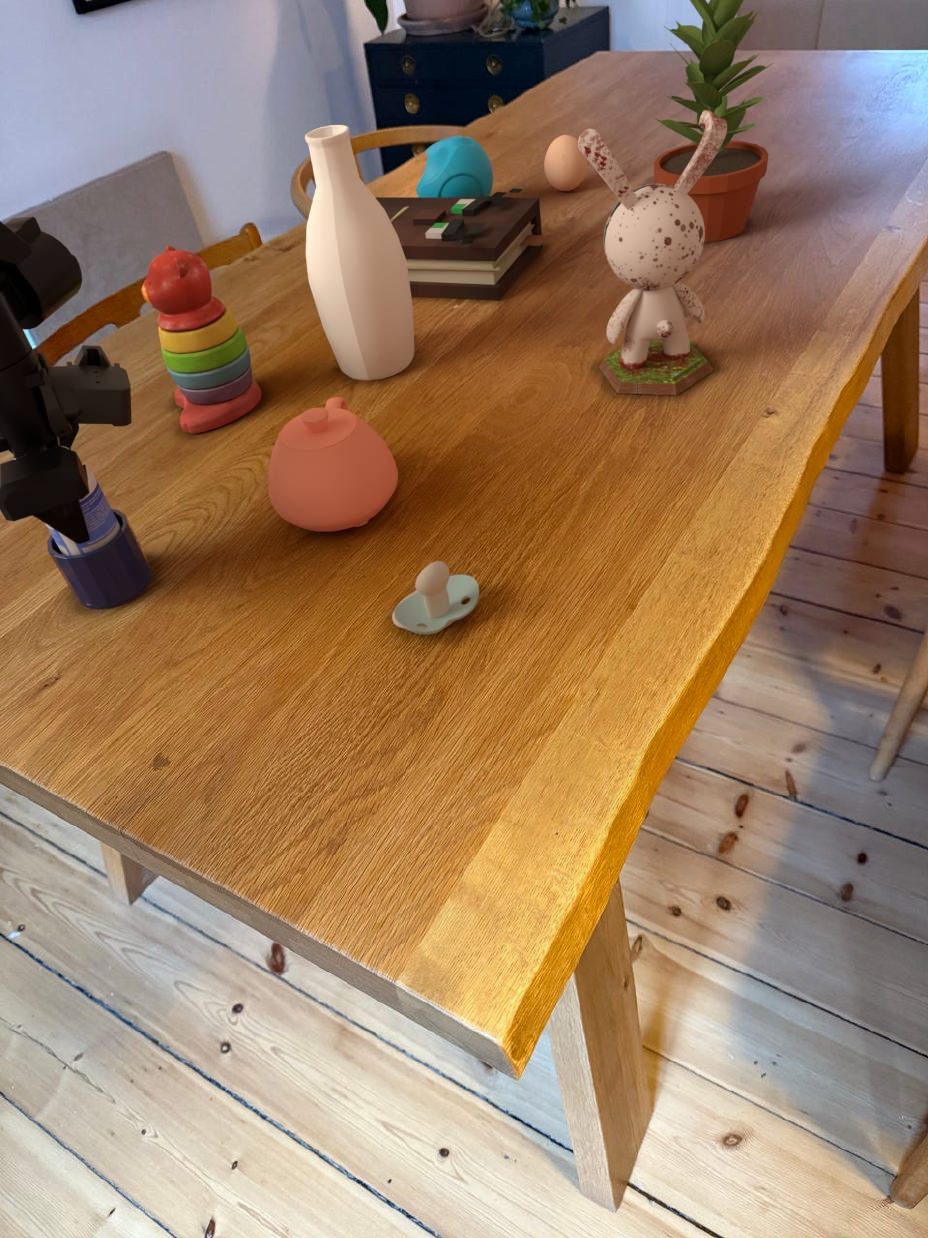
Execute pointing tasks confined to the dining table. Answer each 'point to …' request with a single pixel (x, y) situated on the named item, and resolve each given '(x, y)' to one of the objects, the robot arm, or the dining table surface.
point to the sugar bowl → (330, 470)
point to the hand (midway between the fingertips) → (81, 524)
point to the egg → (565, 163)
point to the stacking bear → (199, 343)
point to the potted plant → (736, 163)
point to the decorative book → (466, 242)
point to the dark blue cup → (106, 569)
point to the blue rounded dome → (456, 170)
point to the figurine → (654, 269)
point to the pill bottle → (91, 522)
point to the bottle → (356, 265)
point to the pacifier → (436, 600)
